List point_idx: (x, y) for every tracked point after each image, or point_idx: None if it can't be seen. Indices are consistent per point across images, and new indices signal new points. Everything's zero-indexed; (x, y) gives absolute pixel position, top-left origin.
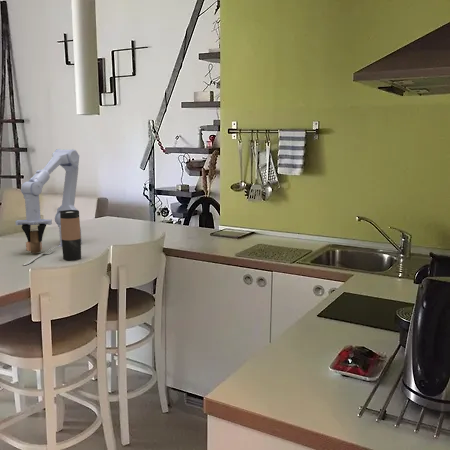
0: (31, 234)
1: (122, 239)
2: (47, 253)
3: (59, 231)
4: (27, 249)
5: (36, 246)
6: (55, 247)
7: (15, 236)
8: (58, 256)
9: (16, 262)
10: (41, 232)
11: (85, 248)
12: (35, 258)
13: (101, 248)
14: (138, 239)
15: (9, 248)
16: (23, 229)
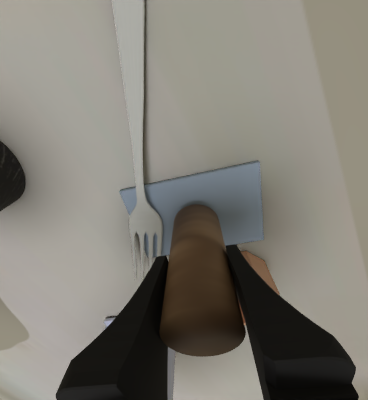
0: (211, 287)
1: (51, 377)
2: (139, 220)
3: (168, 390)
4: (260, 264)
5: (180, 227)
6: (134, 276)
7: (359, 387)
8: (80, 202)
9: (225, 37)
10: (120, 312)
11: (72, 308)
12: (128, 103)
13: (22, 311)
14: (12, 378)
15: (349, 290)
16: (304, 324)
